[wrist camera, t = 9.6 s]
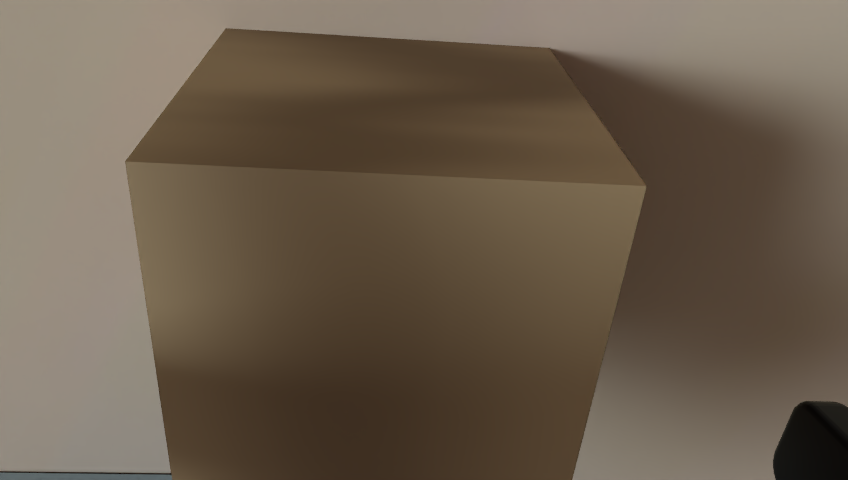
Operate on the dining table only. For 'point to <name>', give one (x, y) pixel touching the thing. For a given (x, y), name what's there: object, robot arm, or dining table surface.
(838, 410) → the robot arm
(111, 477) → the tote
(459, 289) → the walnut cube
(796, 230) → the dining table surface
